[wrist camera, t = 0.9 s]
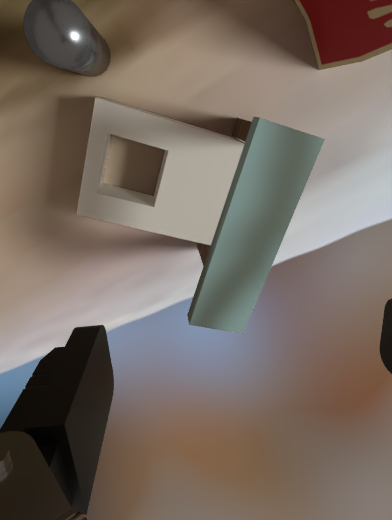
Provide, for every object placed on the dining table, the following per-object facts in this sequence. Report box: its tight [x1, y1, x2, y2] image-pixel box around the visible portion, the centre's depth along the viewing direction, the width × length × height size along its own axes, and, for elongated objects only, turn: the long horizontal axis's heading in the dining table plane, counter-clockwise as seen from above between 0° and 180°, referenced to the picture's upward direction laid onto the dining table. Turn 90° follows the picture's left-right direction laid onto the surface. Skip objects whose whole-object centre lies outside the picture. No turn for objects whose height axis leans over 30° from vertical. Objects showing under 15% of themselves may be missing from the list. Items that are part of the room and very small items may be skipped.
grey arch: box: [188, 117, 325, 334], centre depth 29 cm, size 4×14×15 cm, turn 164°
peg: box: [24, 0, 110, 77], centre depth 24 cm, size 3×3×12 cm
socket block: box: [76, 97, 245, 245], centre depth 33 cm, size 13×10×4 cm
